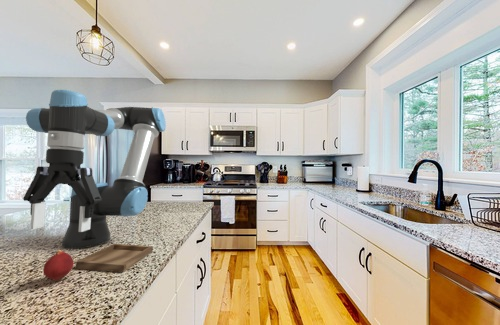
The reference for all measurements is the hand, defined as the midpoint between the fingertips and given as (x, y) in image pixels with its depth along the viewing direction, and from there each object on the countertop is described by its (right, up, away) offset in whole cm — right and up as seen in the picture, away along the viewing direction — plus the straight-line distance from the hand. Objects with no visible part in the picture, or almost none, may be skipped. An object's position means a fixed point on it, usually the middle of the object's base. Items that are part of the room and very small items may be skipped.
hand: (60, 229), depth 55 cm
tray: (+7, -14, +13) cm, 20 cm away
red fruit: (0, -14, 0) cm, 14 cm away
